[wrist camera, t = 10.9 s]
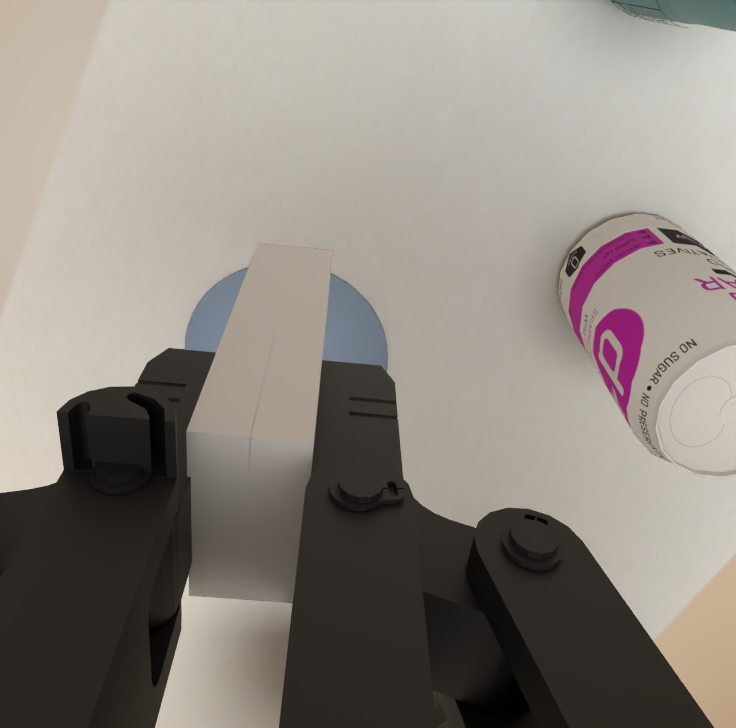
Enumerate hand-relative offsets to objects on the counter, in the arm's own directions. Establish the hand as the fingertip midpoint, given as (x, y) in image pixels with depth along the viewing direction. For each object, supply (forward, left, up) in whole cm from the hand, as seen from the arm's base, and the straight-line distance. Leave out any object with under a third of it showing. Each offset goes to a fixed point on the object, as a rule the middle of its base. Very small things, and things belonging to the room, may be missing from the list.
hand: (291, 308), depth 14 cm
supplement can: (-18, +8, -26) cm, 33 cm away
